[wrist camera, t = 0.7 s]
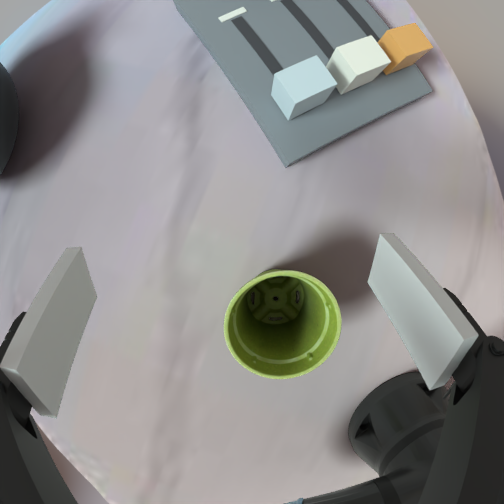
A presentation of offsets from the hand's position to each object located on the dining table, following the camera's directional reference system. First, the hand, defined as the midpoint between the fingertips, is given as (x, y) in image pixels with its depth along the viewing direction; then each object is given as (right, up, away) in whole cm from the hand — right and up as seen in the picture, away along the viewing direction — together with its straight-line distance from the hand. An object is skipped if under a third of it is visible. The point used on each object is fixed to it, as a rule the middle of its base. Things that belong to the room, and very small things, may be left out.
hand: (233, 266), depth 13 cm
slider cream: (+10, +18, +12) cm, 24 cm away
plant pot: (+3, -4, +19) cm, 20 cm away
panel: (+6, +24, +15) cm, 29 cm away
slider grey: (+5, +15, +13) cm, 20 cm away
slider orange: (+15, +21, +12) cm, 28 cm away
